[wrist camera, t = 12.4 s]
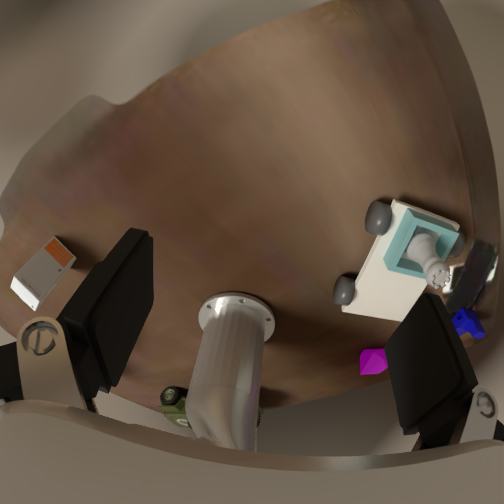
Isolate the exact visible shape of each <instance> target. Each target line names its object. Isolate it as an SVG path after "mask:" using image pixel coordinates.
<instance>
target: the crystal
mask: <svg viewBox="0 0 504 504" xmlns="http://www.w3.org/2000/svg"><path fill="white" fill-rule="evenodd" d="M387 367H388V364H387V360H386V356H385V352H384V349H365V350H363V352H362V353H361V355H360V375H365V374H379V373H381V372H382V371H384V370H385V369H386V368H387Z"/></svg>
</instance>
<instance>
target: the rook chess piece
mask: <svg viewBox="0 0 504 504" xmlns="http://www.w3.org/2000/svg"><path fill="white" fill-rule="evenodd" d="M404 251H405V253H406V255H407V256H408V257H409V259H411V260H412V261H414V262H417V263H419V264H420V265H421V267H422V268H423V273H424V275H426V282H427V284H428V285H430V286H432V287H435V289H439V286H440V285H441V286H442V288H443V287H444V286H446V285H445V282H446V281H447V282H449V281H450V278H449V276H451V275H450V268H449V265H447V264H446V263H443V260H442V259H441V258H440V257H438V255H437V253H436V242H435V239H434V237H433V235H432V234H431V232H430V231H429V230H427V229H424V228H419V229H415V231H414V233H413V235H412V237H411V239H410V241H409V243H408V245H407V247H406V248H405V250H404Z"/></svg>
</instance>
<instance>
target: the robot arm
mask: <svg viewBox="0 0 504 504" xmlns="http://www.w3.org/2000/svg"><path fill="white" fill-rule="evenodd" d="M153 300H154V290H153V237H150V236H149V234H148V232H147V231H144V230H140V229H136V228H130V229H129V230H128V231H127V232H126V233H125V234H124V236H123V237H122V238H121V239H120V240H119V242H118V243H117V244H116V245H115V247H114V248H113V249H112V250H111V252H110V253H109V254H108V255H107V257H106V258H105V259H104V260H103V262H98V263H97V264H96V265H95V266H94V268H93V269H92V270H91V272H90V273H89V274H88V276H87V277H86V278H85V280H84V281H83V282H82V284H81V285H80V286H79V288H78V289H77V290H76V292H75V293H74V294H73V296H72V297H71V299H70V300H69V301H68V303H67V304H66V306H65V307H64V309H63V310H62V311H61V313H60V314H59V316H58V317H57V319H56V320H54V319H52V318H50V317H36V318H34V319H31V320H29V321H28V322H27V323H25V324H24V325H23V326H22V328H21V329H20V331H19V333H18V335H17V341H16V342H13V343H10V344H7V345H3V346H0V504H504V425H503V424H502V423H501V422H500V421H499V420H497V415H498V405H497V402H496V400H495V398H494V396H493V395H492V394H491V393H490V392H489V391H488V390H486V389H483V388H480V389H477V390H476V391H475V392H474V393H473V392H472V389H473V388H474V387H475V386H476V385H478V381H477V378H476V375H475V373H474V370H473V368H472V366H471V363H470V360H469V358H468V356H467V353H466V351H465V348H464V346H463V344H462V341H461V339H460V337H459V335H458V332H457V330H456V328H455V326H454V324H453V322H452V320H451V318H450V316H449V313H448V311H447V309H446V307H445V305H444V304H443V302H442V300H441V298H440V296H438V295H435V294H430V293H425V294H423V295H422V296H420V297H419V298H418V299H417V301H416V302H415V304H414V305H413V307H412V308H411V309H410V311H409V312H408V314H407V315H406V317H405V318H404V319H403V321H402V322H401V324H400V325H399V326H398V328H397V329H396V331H395V332H394V333H393V335H392V336H391V337H390V339H389V340H388V341H387V343H386V345H385V348H384V352H385V356H386V360H387V364H388V369H389V373H390V377H391V382H392V386H393V391H394V396H395V401H396V406H397V412H398V417H399V422H400V426H401V427H402V428H403V433H404V435H411V434H416V433H417V432H419V433H420V436H419V438H418V440H417V441H416V443H415V445H414V447H413V449H412V451H411V452H404V453H396V454H386V455H372V456H353V457H352V456H351V457H315V456H314V457H311V456H293V455H279V454H269V453H259V452H256V428H257V415H258V404H259V394H260V383H261V372H262V360H263V348H264V342H265V341H266V340H268V339H269V338H270V337H271V336H272V334H273V332H274V329H275V318H274V314H273V312H272V310H271V309H270V308H269V307H268V306H267V305H266V304H265V303H264V302H263V301H261V300H259V299H258V298H256V297H253V296H251V295H247V294H243V293H236V292H226V293H221V294H217V295H214V296H212V297H210V298H209V299H207V300H206V301H205V302H204V303H203V305H202V307H201V309H200V312H199V324H200V326H201V328H202V329H203V331H204V333H203V337H202V341H201V345H200V348H199V352H198V356H197V359H196V363H195V367H194V371H193V375H192V378H191V382H190V386H189V390H188V393H187V397H186V402H185V411H186V416H187V419H188V421H189V423H190V425H191V427H192V429H193V430H194V432H195V434H196V435H197V437H198V439H195V438H190V437H188V438H187V437H183V436H179V435H175V434H172V433H168V432H164V431H161V430H157V429H153V428H150V427H146V426H142V425H138V424H127V423H124V422H121V421H118V420H115V419H112V418H108V417H105V416H102V415H99V413H98V410H97V408H96V405H95V402H94V399H93V398H95V397H96V395H97V392H98V390H100V391H103V392H105V393H109V391H110V388H111V386H113V387H116V386H117V384H118V382H119V380H120V378H121V375H122V373H123V370H124V368H125V366H126V363H127V361H128V359H129V356H130V354H131V352H132V350H133V347H134V345H135V343H136V341H137V338H138V336H139V334H140V332H141V330H142V327H143V325H144V323H145V321H146V319H147V317H148V314H149V312H150V310H151V308H152V305H153Z"/></svg>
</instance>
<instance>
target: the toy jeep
mask: <svg viewBox="0 0 504 504" xmlns="http://www.w3.org/2000/svg"><path fill="white" fill-rule="evenodd" d="M161 394H162V395H160V397H161V398H160V400H161V402H160V406H159V407H160V408H161V409H163V410H164V416H165V417H166V418H167V419H168V420H170V421H171V422H172V423H174V424H175V425H177V426H179V427H190V428H191V429H192V427H191V425H190V423H189V421H188V419H187V416H186V411H185V402H186V398H181V397H182V395H181V394H182V393H181V391H180V390H179V389H178V388H176V387H174V386H173V387H172V386H170V387H167V388H165V390H163V393H161ZM263 411H264V410H263V409H262V408H261V407H260V406H259V405H258V415H257V427H258V426H259V423H260V414H263ZM256 429H257V428H256Z"/></svg>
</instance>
